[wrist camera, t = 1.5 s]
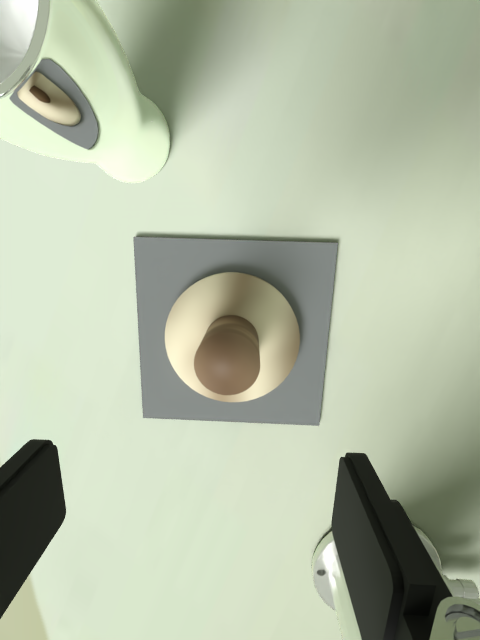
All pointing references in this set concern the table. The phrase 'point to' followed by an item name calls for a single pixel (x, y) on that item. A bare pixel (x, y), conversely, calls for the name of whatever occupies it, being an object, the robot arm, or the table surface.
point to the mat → (250, 258)
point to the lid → (232, 337)
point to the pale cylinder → (75, 90)
